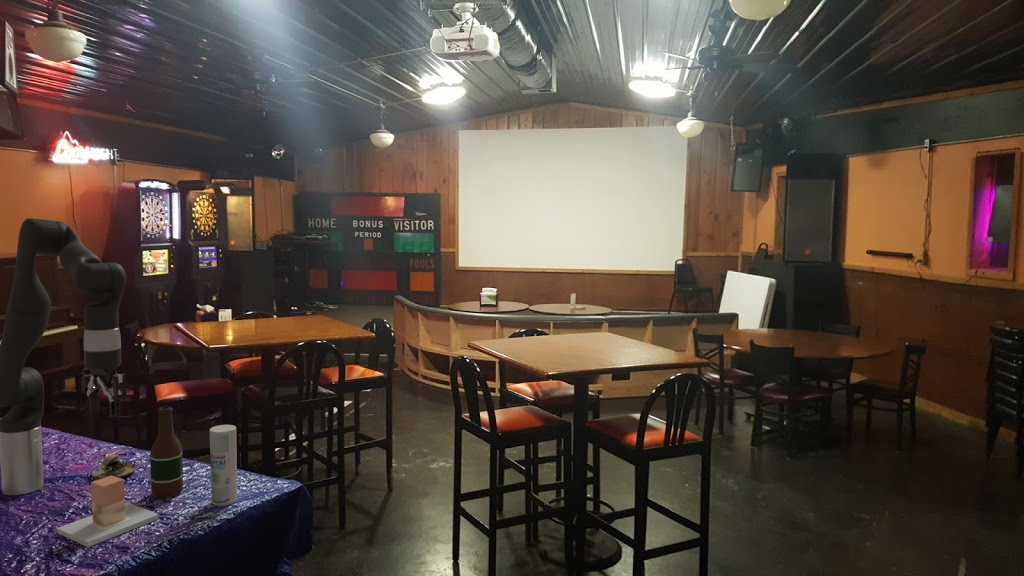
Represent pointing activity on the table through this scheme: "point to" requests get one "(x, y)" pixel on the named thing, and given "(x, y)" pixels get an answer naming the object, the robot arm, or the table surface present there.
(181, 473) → the beer bottle
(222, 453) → the spray can
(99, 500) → the terracotta block
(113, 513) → the maple block
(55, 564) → the table surface
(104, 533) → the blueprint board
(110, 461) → the burger
